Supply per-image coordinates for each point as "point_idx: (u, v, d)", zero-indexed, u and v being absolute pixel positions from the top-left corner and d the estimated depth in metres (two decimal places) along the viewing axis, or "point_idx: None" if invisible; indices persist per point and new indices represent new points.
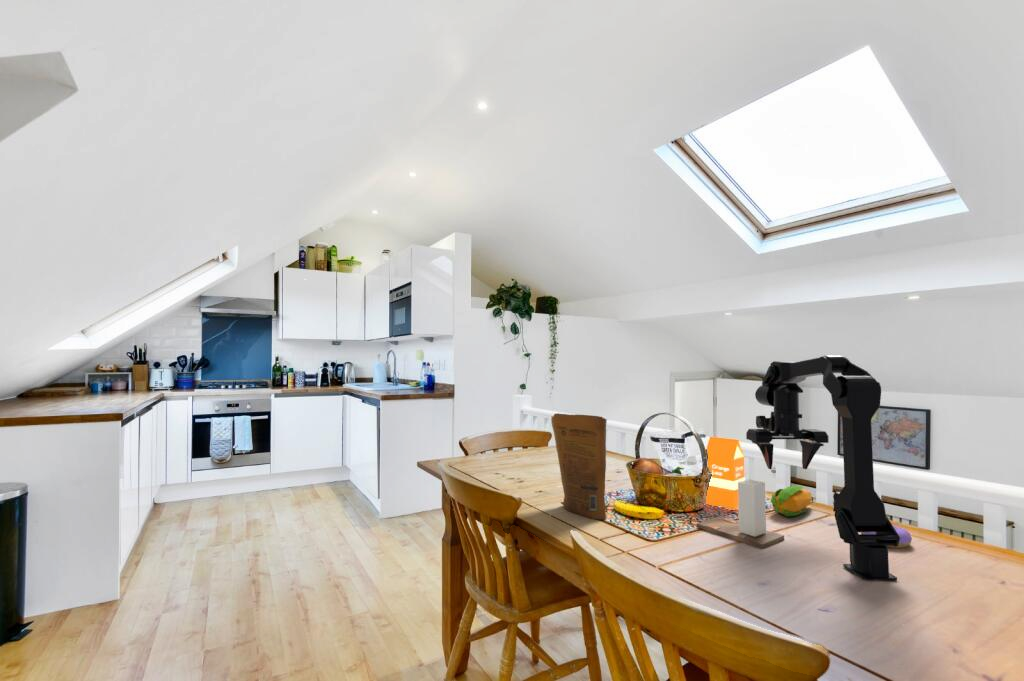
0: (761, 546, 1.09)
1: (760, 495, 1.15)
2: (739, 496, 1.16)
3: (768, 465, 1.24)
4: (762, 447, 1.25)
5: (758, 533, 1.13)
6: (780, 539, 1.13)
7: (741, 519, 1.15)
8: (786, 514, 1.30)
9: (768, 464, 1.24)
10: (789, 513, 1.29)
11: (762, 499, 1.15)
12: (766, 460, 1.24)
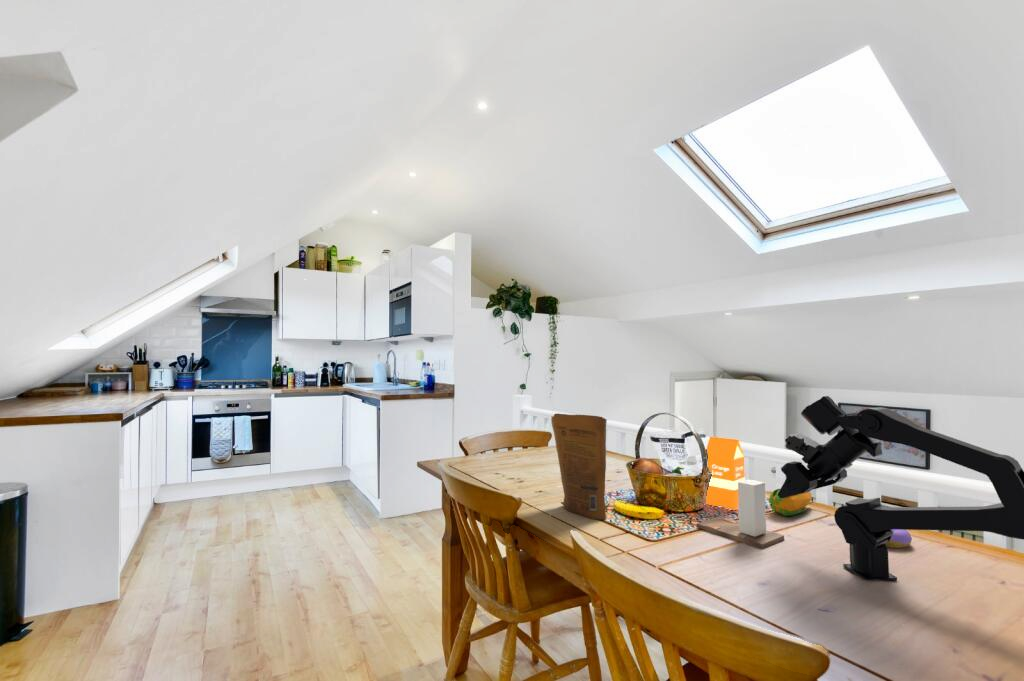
0: (761, 546, 1.09)
1: (760, 495, 1.15)
2: (739, 496, 1.16)
3: (782, 495, 1.06)
4: (790, 480, 1.04)
5: (758, 533, 1.13)
6: (780, 539, 1.13)
7: (741, 519, 1.15)
8: (783, 513, 1.30)
9: (782, 495, 1.06)
10: (786, 512, 1.30)
11: (762, 499, 1.15)
12: (784, 491, 1.05)
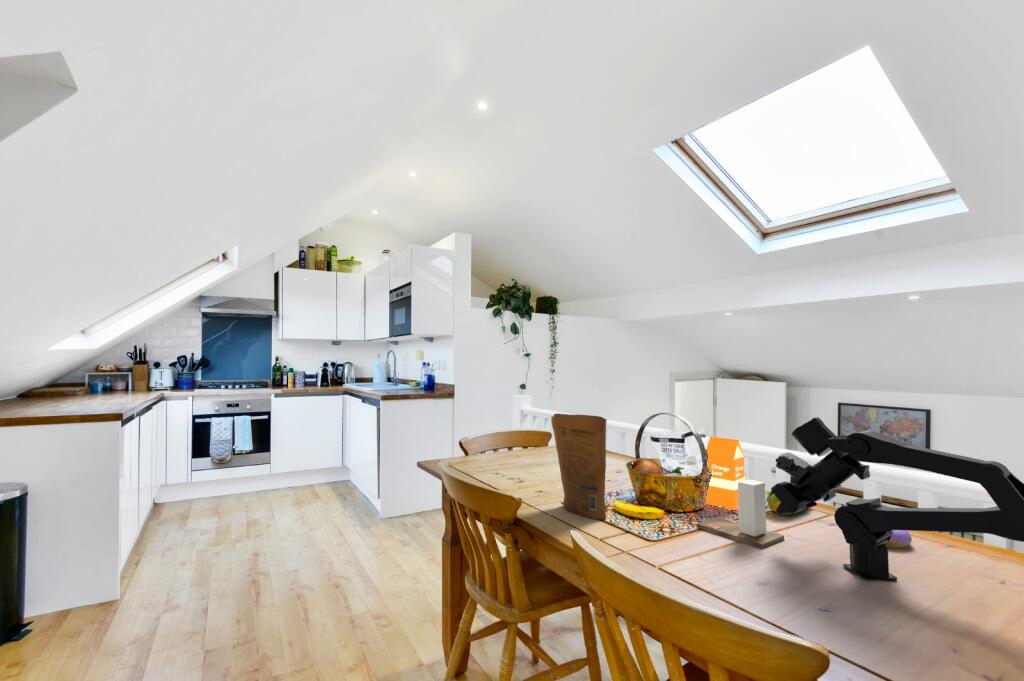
0: (761, 546, 1.09)
1: (760, 495, 1.15)
2: (739, 496, 1.16)
3: (780, 511, 1.10)
4: None
5: (758, 533, 1.13)
6: (780, 539, 1.13)
7: (741, 519, 1.15)
8: None
9: (780, 510, 1.10)
10: None
11: (762, 499, 1.15)
12: (782, 507, 1.09)
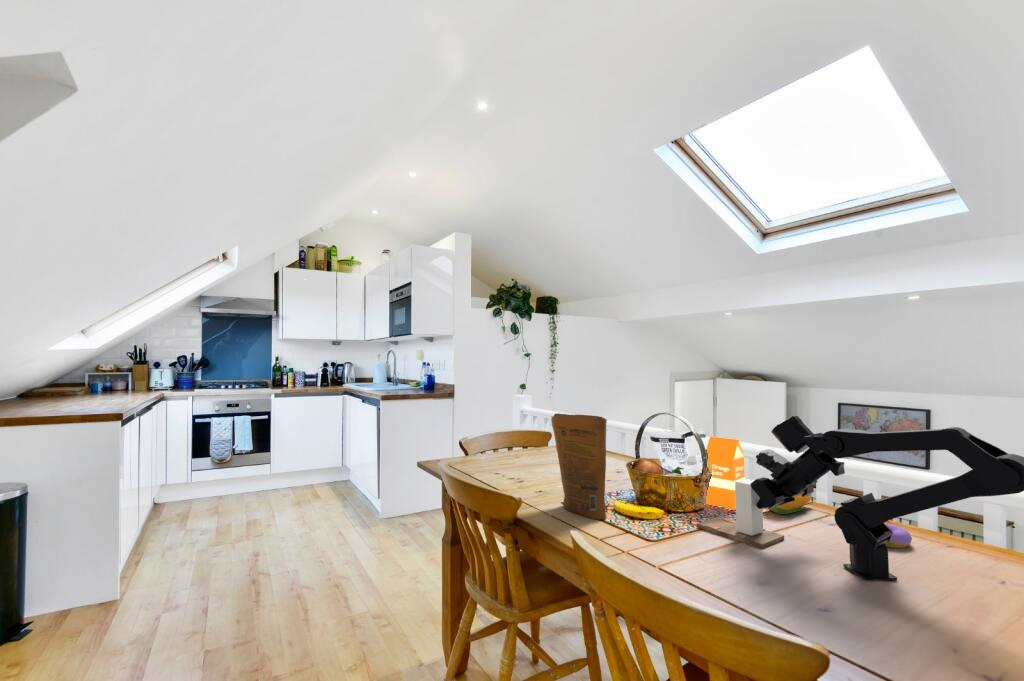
0: (761, 546, 1.09)
1: None
2: (736, 495, 1.17)
3: (760, 506, 1.14)
4: None
5: (755, 532, 1.14)
6: (780, 539, 1.13)
7: (738, 518, 1.16)
8: (777, 512, 1.32)
9: (760, 505, 1.13)
10: (780, 511, 1.31)
11: (759, 498, 1.16)
12: (762, 502, 1.13)
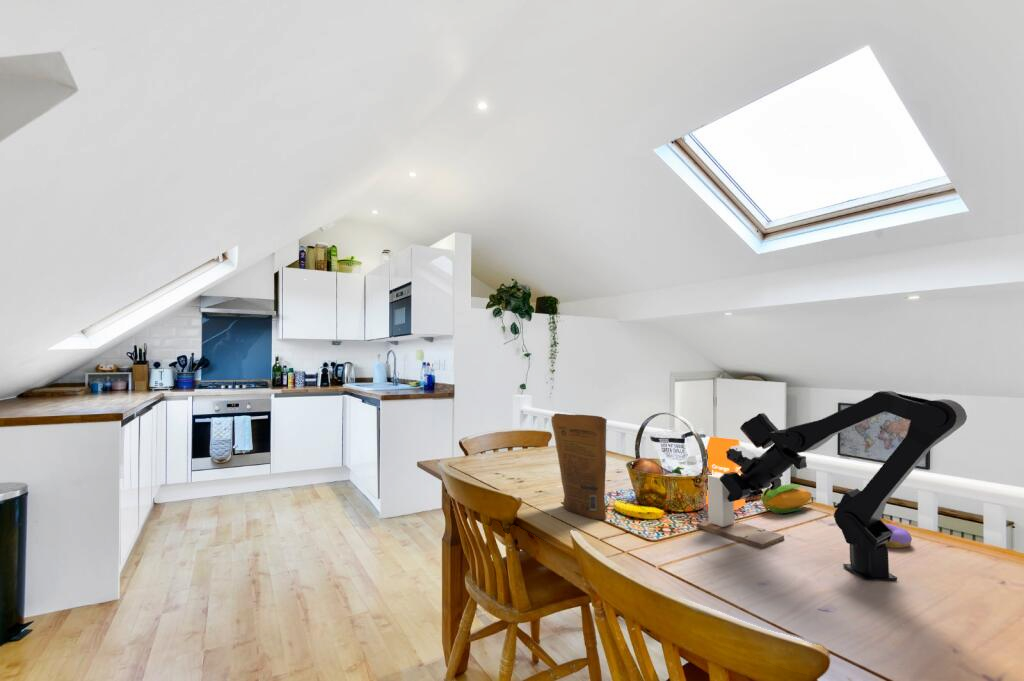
0: (761, 546, 1.09)
1: None
2: (709, 489, 1.23)
3: (731, 499, 1.20)
4: None
5: (726, 523, 1.20)
6: (780, 539, 1.13)
7: (710, 510, 1.22)
8: (773, 511, 1.33)
9: (730, 498, 1.20)
10: (776, 510, 1.32)
11: None
12: (732, 496, 1.19)
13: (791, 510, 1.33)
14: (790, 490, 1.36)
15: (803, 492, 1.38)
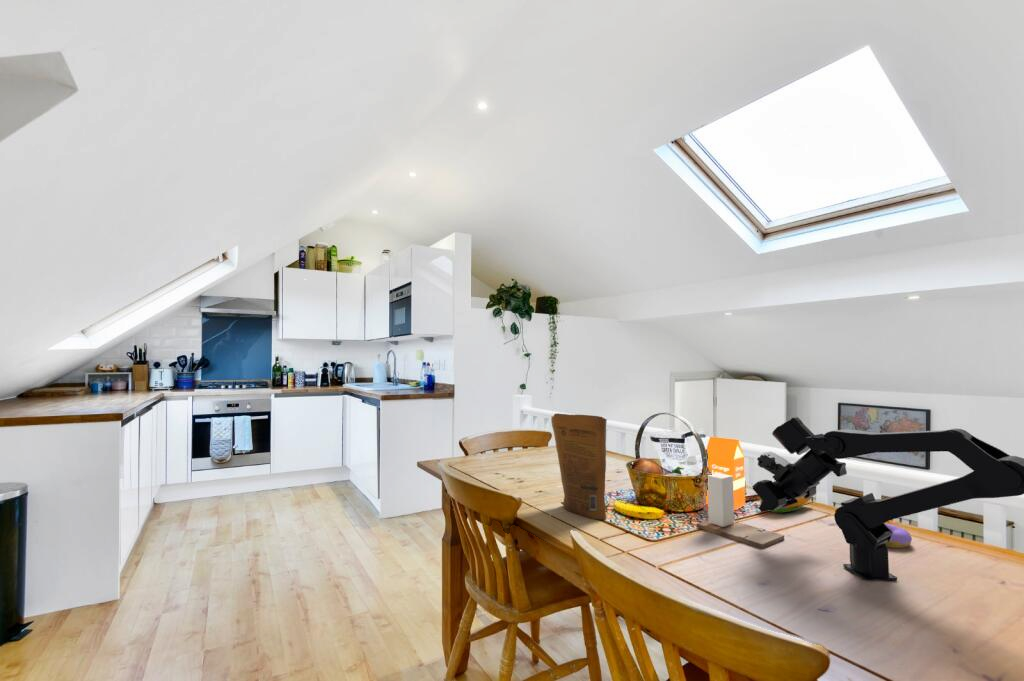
0: (761, 546, 1.09)
1: (728, 488, 1.21)
2: (709, 489, 1.23)
3: (763, 509, 1.13)
4: None
5: (726, 523, 1.20)
6: (780, 539, 1.13)
7: (710, 510, 1.22)
8: (771, 510, 1.33)
9: (763, 508, 1.13)
10: None
11: (730, 491, 1.22)
12: (765, 505, 1.12)
13: (789, 509, 1.34)
14: None
15: None
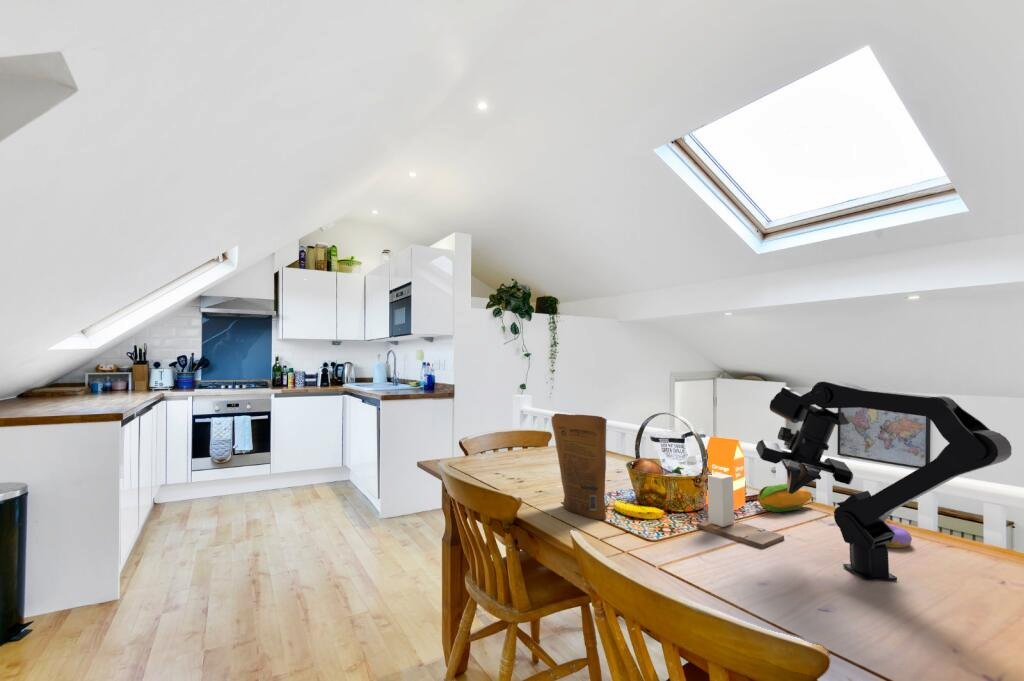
0: (761, 546, 1.09)
1: (728, 488, 1.21)
2: (709, 489, 1.23)
3: (788, 488, 1.10)
4: None
5: (726, 523, 1.20)
6: (780, 539, 1.13)
7: (710, 510, 1.22)
8: (769, 509, 1.34)
9: (788, 488, 1.10)
10: (771, 508, 1.33)
11: (730, 491, 1.22)
12: (788, 483, 1.10)
13: (787, 509, 1.34)
14: None
15: (802, 492, 1.38)
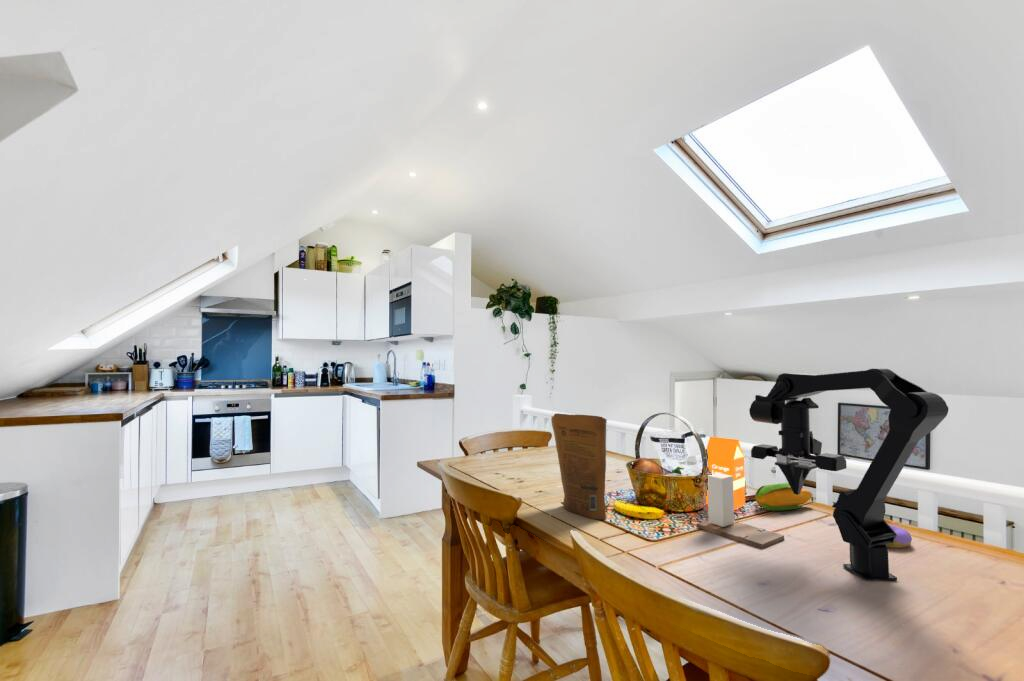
0: (761, 546, 1.09)
1: (728, 488, 1.21)
2: (709, 489, 1.23)
3: None
4: None
5: (726, 523, 1.20)
6: (780, 539, 1.13)
7: (710, 510, 1.22)
8: (766, 508, 1.35)
9: None
10: (768, 507, 1.35)
11: (730, 491, 1.22)
12: None
13: (785, 508, 1.35)
14: (786, 489, 1.38)
15: (801, 491, 1.38)
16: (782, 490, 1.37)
